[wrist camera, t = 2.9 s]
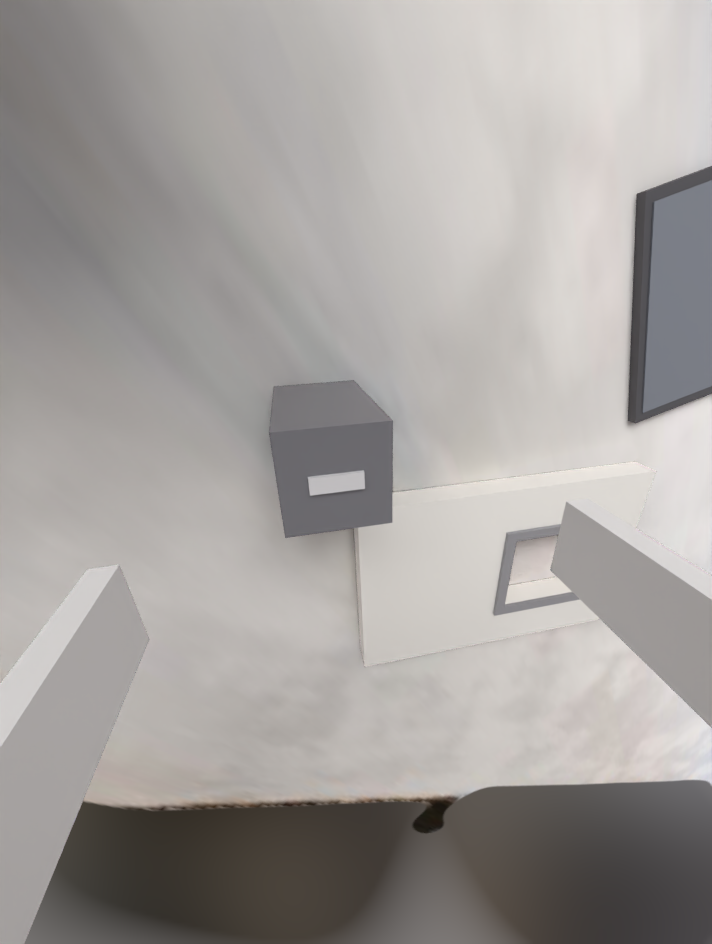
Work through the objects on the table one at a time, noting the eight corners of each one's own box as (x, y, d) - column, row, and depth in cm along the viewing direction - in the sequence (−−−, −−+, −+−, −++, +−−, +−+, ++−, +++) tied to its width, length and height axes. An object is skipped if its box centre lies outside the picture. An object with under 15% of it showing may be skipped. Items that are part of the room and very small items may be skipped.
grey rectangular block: (284, 460, 24) (285, 540, 16) (273, 386, 22) (269, 434, 14) (356, 452, 25) (393, 524, 17) (353, 380, 23) (394, 421, 14)
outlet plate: (360, 647, 33) (365, 670, 31) (352, 497, 26) (358, 513, 24) (588, 603, 37) (606, 621, 35) (634, 461, 30) (660, 472, 28)
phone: (622, 418, 28) (636, 423, 27) (628, 196, 22) (647, 190, 21) (713, 383, 29) (731, 386, 28) (746, 152, 22) (772, 143, 21)
